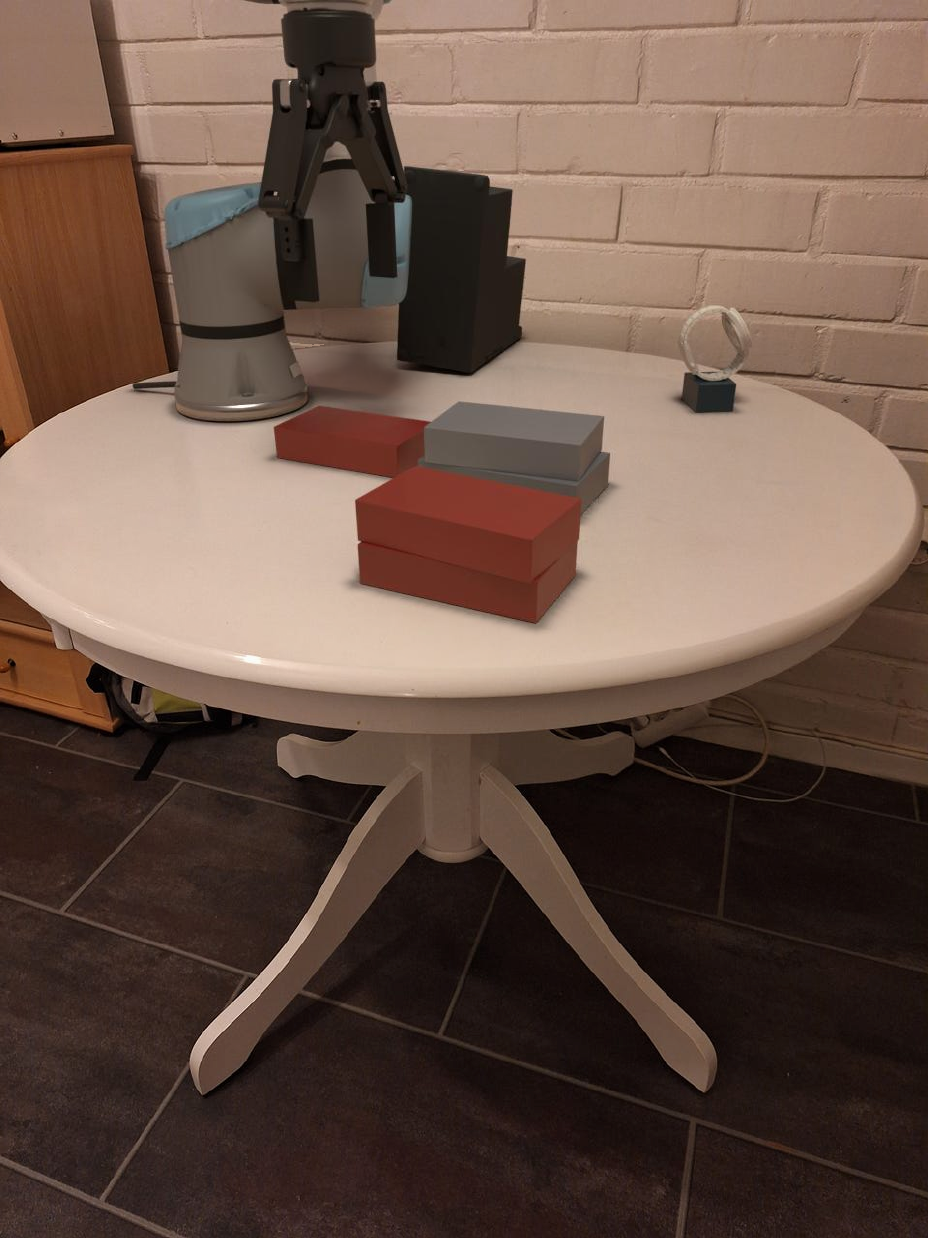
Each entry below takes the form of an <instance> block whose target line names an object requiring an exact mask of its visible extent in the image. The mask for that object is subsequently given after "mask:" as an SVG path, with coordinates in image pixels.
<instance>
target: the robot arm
mask: <svg viewBox="0 0 928 1238" xmlns="http://www.w3.org/2000/svg"><path fill="white" fill-rule="evenodd" d="M244 1H246V2H250V3H255V4H263V5H281V6H282V7H285V8H286V11H287V12H286V13H283V14H282V17H281V19H280V25H281V35H282V46H283V58H284V62H285V65H287V66H288V67H289V68H291V69H296V71H297V78H275V79H273V81H272V84H271V95H272V97H271V98H272V115H271V119H270V120H271V121H270V126H269V127H270V128H269V132H268V139H267V146H266V152H265V157H264V164H263V169H262V176H261V181H258V182H250V183H249V182H248V183H247V182H246V183H239V184H232V185H226V186H221V187H215V188H209V189H203V190H199V191H194V192H189V193H186V194H182V195H178V196H176V197H173V198H172V199H170V200H169V201H168V203H167V204H166V205H165V208H164V211H163V219H164V231H165V240H166V243H165V245H164V246H165V250H167V255H168V259H169V260H168V261H169V267H170V272H171V279H172V284H173V291H174V298H175V302H176V309H177V316H178V322H179V327H180V334H181V345H180V346H181V347H180V353H179V359H178V365H177V380H174V381H173V380H172V381H150V382H148V381H147V382H133V384H132V389H134V390H142V389H143V390H144V389H161V388H164V389H166V388H174V392H173V394H174V400H175V401H174V402H175V406H176V407H175V408H176V410H177V411H178V412H179V413H180V414H182V415H184V416H187V417H189V418H193V419H197V420H203V421H212V422H241V421H242V422H243V421H254V420H261V419H267V418H272V417H278V416H281V415H284V414H288V413H291V412H293V411H295V410H297V409H300V408H302V407H303V406H305V404H306V403H307V402H308V399H309V395H308V385H307V384H308V383H307V381H306V378H305V376H304V375H303V370H302V368H301V365H300V363H299V361H298V360H297V358H296V355H295V352H294V349H293V347H292V345H291V343H290V340H289V338H288V335H287V331H286V320H285V312H284V311H294V310H297V311H301V310H302V311H304V310H335V309H336V310H340V309H341V310H342V309H363V310H365V311H366V310H367V311H368V310H371V309H373V308H382V307H393V306H394V307H395V306H397V305H399V303H400V302H401V301H402V300H403V299H404V298H405V296H406V292H407V285H408V273H409V259H410V238H411V222H412V199H411V197H410V196H408V195H405V193H406V191H407V181H406V178H405V174H404V166H403V162H402V159H401V155H400V152H399V151H400V150H399V148H398V144H397V140H396V136H395V132H394V128H393V125H392V120H391V117H390V113H389V110H388V109H389V107H388V106H389V105H388V97H387V87H386V83H385V82H384V81H378V77H377V76H378V75H377V65H376V63H377V42H376V22H377V20H378V19H379V17H380V15H381V13H382V10H383V7H384V5H387V4H389V3H391V2H392V0H244ZM275 193H276V194H275Z"/></svg>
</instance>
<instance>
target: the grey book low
mask: <svg viewBox="0 0 928 1238" xmlns="http://www.w3.org/2000/svg"><path fill="white" fill-rule="evenodd" d="M610 462H611V452H608V451H601V452H600V453H599V455H598V456H597V457H596V459H595V460H594V461H593V463H592V464H591V465H590V467H589V468H588V469H587V471H586V472H585V473H584V475H583V476H582V478H581V479H580V480H579V481H571V480H563V479H555V478H547V477H539V476H531V475H523V474H515V473H507V472H499V471H492V470H484V469H476V468H468V467H460V466H452V465H444V464H436V463H428V462H425V456H423V457H422V458H420V459H419V460H418V466H419V467H424V468H429V469H434V470H439V471H444V472H449V473H454V474H459V475H464V476H469V477H474V478H480V479H485V480H490V481H495V482H500V483H505V484H510V485H515V486H520V487H525V488H530V489H535V490H540V491H545V492H550V493H555V494H560V495H566V496H571V497H576V498H581V499H582V500H581V515H582V514H583V513H584V512H585V511H586V510H587V509H588V507H590V506H591V505H592V503H593V502H594V501H595V500H597V498H598V497H599V496H600V495H601V494H602V493H603V491H605V489H607V487H608V486H609V473H610Z"/></svg>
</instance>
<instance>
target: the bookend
mask: <svg viewBox="0 0 928 1238" xmlns="http://www.w3.org/2000/svg"><path fill="white" fill-rule="evenodd" d="M403 170H404V174H405V178H406V181H407V191H406V193H405V195H408V196H410V197H411V199H412V222H411V238H410V259H409V273H408V285H407V292H406V296H405V298H404V299H403V300H402V301H401V302H400V303H399V304H398V315H397V316H398V320H397V342H396V343H397V345H396V346H397V348H396V360H397V361H399V362H404V363H405V362H406V363H411V364H418V365H423V366H427V367H428V366H429V367H435V368H441V369H446V370H453V371H457V372H463V373H473V372H474V371H475V370H476V369H478V368H479V367H481V366H482V365H484V364H485V363H487V361H489V360H491V359H492V358H493V357H495V356H496V355H498V354H499V353H501V352H502V351H504V350H505V349H507V348H508V347H509V346H511V345H513V343H515V342H516V341H518V340H519V339H521V337H522V335H523V327H522V326H521V325H520V320H521V308H522V302H523V301H522V300H523V294H524V293H523V291H524V290H523V289H524V283H525V282H524V281H525V273H526V264H527V263H526V261H527V259H526V258H523V257H517V256H510V255H508V248H509V238H510V227H511V217H512V204H513V193H514V190H513V189H512V188H505V187H498V186H492V185H491V179H490V177H489V175H486V174H479V173H471V172H469V173H468V172H461V171H454V170H453V171H452V170H445V169H434V168H425V167H418V166H411V165H404V166H403Z"/></svg>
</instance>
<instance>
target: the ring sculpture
mask: <svg viewBox="0 0 928 1238" xmlns="http://www.w3.org/2000/svg"><path fill="white" fill-rule="evenodd" d="M712 313H720V314H721V324H722V327H723V330H724V332H725V334H726V336H727V338H728V340H729V341H730V343H731V344H732V346H733V347H734V351H735V352H736V355H735V358H733V360H732V361H731V362H730V364H728V365H727V366H725V367H724V369H723V368H722V369H721V370H718V371H699V370H700V369H699V365H697V364H696V361H695V360H694V357H693V354H692V349H691V346H690V338H689V334H690V332H691V330H692V328H693V327H694V326H695V325H696V324H697V323H698V321H699V320H701V319H703V318H704V317H706V316H708V315H710V314H712ZM677 344H678V349H679V352H680V353H679V354H680V356H681V358H682V361H683V363H684V365H685V366H686V368H687V370H688V371H689V372H688V371H687V372H684V375H683V384H682V392H681V394H682V395H681V400H682V401H683V402H684V403H685V404H686V405H687V406H688V407H689V408H690V409H691V410H692V411H693V412H694V413H721V412H725V413H726V412H733V410H734V403H735V396H736V391H737V390H736V389H737V383H736V382H734V381H733V380H732V379H731V377H732V376H734V375H735V374H737V372H738V371H740V369H741V368H742V367H743V366H744V364H745V363H746V361H747V360H748V358H749V357H750V349H751V348H752V347H753V345H754V344H753V338H752V336H751V333H750V330H749V328H748V326H747V324H746V321H745V320H744V319H743V317H742V315H741V314H740V313H739V311H738V310H737V309H736V308H734V307H730V308H726V307H725V306H723V305H718V304H710V305H705V306H702V307H699V309H696V310H694V311H693V312H692V313H691V314H690V315H689V316H688V317H687V318H686V319H685V321H684V323H683V324H682V326H681V329H680V331H679V339H678V341H677Z"/></svg>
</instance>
